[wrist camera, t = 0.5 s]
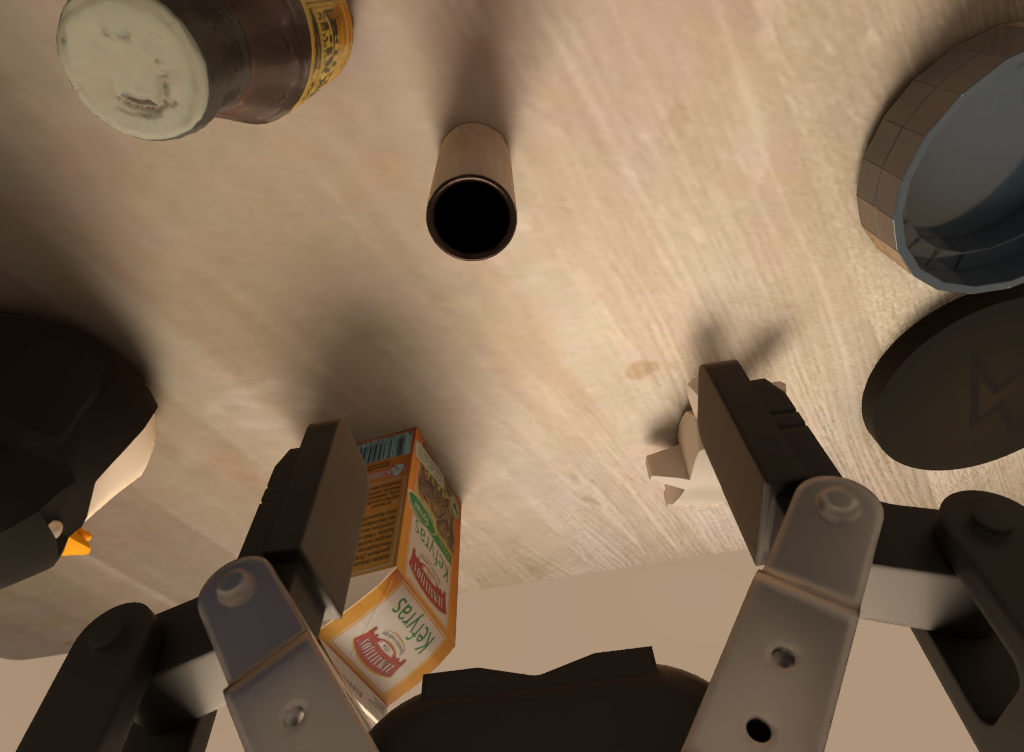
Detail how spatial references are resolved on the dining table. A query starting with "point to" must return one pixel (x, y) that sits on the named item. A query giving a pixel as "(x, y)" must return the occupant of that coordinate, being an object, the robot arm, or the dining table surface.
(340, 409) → the dining table surface
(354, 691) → the milk carton
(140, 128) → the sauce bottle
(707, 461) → the bunny figurine
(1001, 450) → the wireless charger
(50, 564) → the penguin
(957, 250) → the bowl
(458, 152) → the grey hollow cylinder
